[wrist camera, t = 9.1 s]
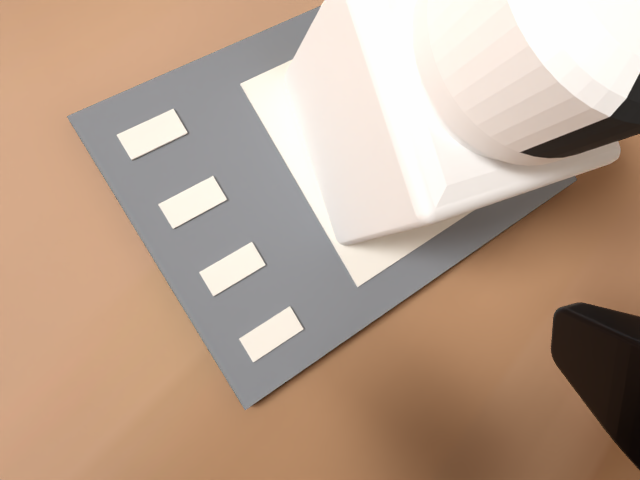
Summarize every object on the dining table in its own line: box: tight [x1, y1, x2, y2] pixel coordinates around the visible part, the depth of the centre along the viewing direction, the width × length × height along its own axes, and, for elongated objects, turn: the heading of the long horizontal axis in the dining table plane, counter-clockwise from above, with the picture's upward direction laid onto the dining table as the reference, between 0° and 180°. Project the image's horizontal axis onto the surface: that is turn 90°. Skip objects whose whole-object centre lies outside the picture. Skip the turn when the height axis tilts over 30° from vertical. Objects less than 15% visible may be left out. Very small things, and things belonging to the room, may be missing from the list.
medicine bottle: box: [284, 0, 640, 246], centre depth 15 cm, size 7×7×12 cm
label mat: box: [67, 6, 577, 410], centre depth 20 cm, size 12×18×1 cm, turn 122°
